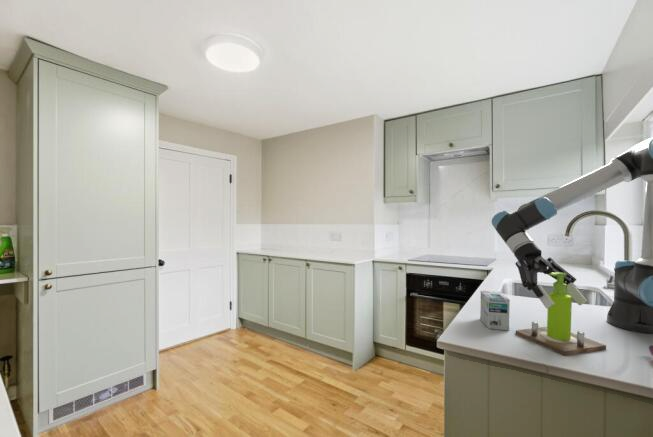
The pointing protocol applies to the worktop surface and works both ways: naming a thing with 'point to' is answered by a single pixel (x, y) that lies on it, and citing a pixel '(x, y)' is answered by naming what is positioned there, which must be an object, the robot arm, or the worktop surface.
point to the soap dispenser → (559, 310)
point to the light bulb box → (494, 310)
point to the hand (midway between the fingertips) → (567, 304)
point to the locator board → (560, 341)
